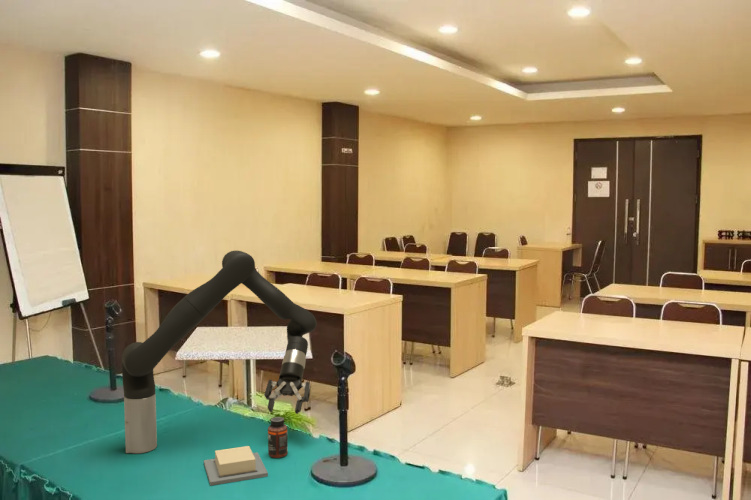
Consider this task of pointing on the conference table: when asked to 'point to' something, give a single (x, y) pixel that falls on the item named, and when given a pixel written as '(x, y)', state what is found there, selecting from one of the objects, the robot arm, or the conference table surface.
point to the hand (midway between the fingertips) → (283, 412)
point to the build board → (234, 478)
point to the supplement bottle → (277, 438)
